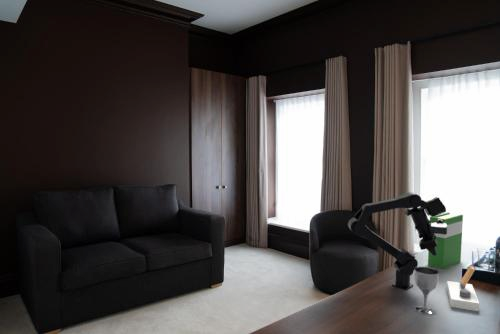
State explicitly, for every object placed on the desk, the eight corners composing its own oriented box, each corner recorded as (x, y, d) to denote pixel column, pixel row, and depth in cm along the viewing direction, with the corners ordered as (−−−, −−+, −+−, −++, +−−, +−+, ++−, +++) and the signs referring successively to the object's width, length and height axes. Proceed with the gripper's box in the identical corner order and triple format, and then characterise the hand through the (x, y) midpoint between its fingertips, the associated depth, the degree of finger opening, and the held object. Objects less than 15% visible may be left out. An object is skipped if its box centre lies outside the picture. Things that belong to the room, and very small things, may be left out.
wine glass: (427, 317, 131) (429, 275, 129) (408, 308, 138) (409, 268, 136) (442, 312, 134) (443, 272, 133) (422, 303, 141) (424, 265, 140)
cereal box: (445, 257, 195) (447, 212, 193) (460, 261, 189) (462, 214, 187) (427, 264, 185) (429, 216, 183) (442, 269, 179) (445, 219, 177)
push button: (460, 296, 140) (460, 292, 140) (459, 292, 144) (459, 289, 144) (471, 298, 139) (471, 294, 139) (469, 294, 142) (470, 290, 142)
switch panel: (450, 306, 139) (451, 299, 139) (446, 287, 156) (447, 280, 156) (479, 311, 135) (479, 303, 135) (471, 291, 153) (471, 284, 153)
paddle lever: (459, 287, 148) (471, 268, 146) (458, 283, 152) (469, 264, 150) (464, 289, 147) (475, 270, 145) (462, 285, 151) (473, 267, 149)
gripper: (442, 223, 144) (458, 260, 144) (440, 208, 160) (454, 241, 161) (413, 231, 149) (427, 266, 149) (413, 215, 165) (427, 248, 166)
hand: (435, 255), depth 156 cm, fingers closed
